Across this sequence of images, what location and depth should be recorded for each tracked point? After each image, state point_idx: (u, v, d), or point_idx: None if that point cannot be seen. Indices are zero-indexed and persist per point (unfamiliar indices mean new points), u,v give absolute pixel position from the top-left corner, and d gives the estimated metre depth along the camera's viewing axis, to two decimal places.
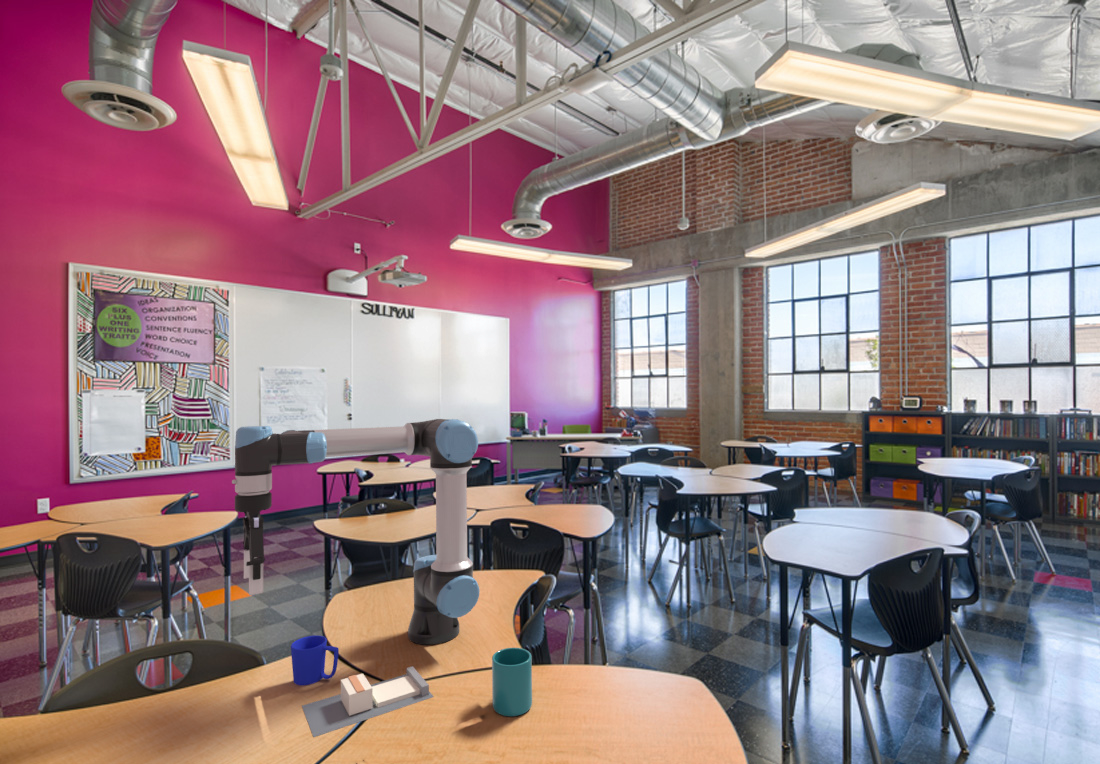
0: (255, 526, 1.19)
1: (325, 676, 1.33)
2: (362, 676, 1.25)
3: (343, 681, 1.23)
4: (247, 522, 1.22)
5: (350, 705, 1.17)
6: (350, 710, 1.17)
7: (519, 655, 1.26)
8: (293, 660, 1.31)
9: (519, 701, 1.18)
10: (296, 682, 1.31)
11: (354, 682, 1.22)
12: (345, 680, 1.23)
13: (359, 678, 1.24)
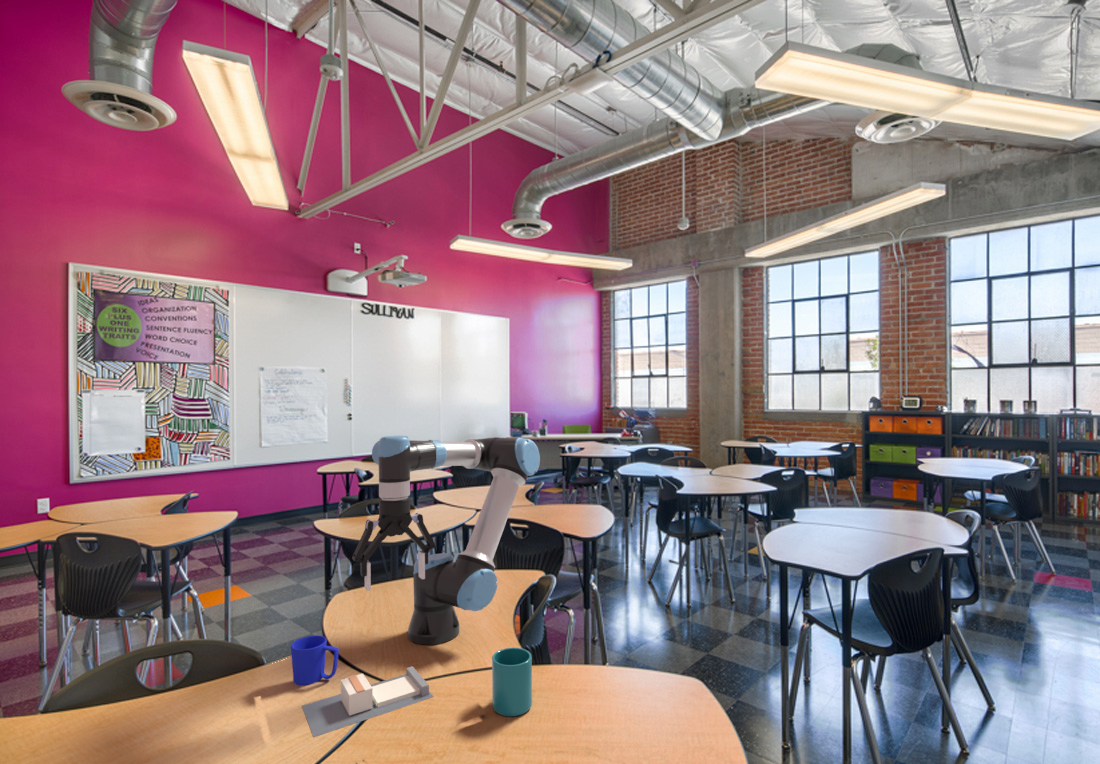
0: (366, 527, 1.31)
1: (325, 676, 1.33)
2: (362, 676, 1.25)
3: (343, 681, 1.23)
4: None
5: (350, 705, 1.17)
6: (350, 710, 1.17)
7: (519, 655, 1.26)
8: (293, 660, 1.31)
9: (519, 701, 1.18)
10: (296, 682, 1.31)
11: (354, 682, 1.22)
12: (345, 680, 1.23)
13: (359, 678, 1.24)
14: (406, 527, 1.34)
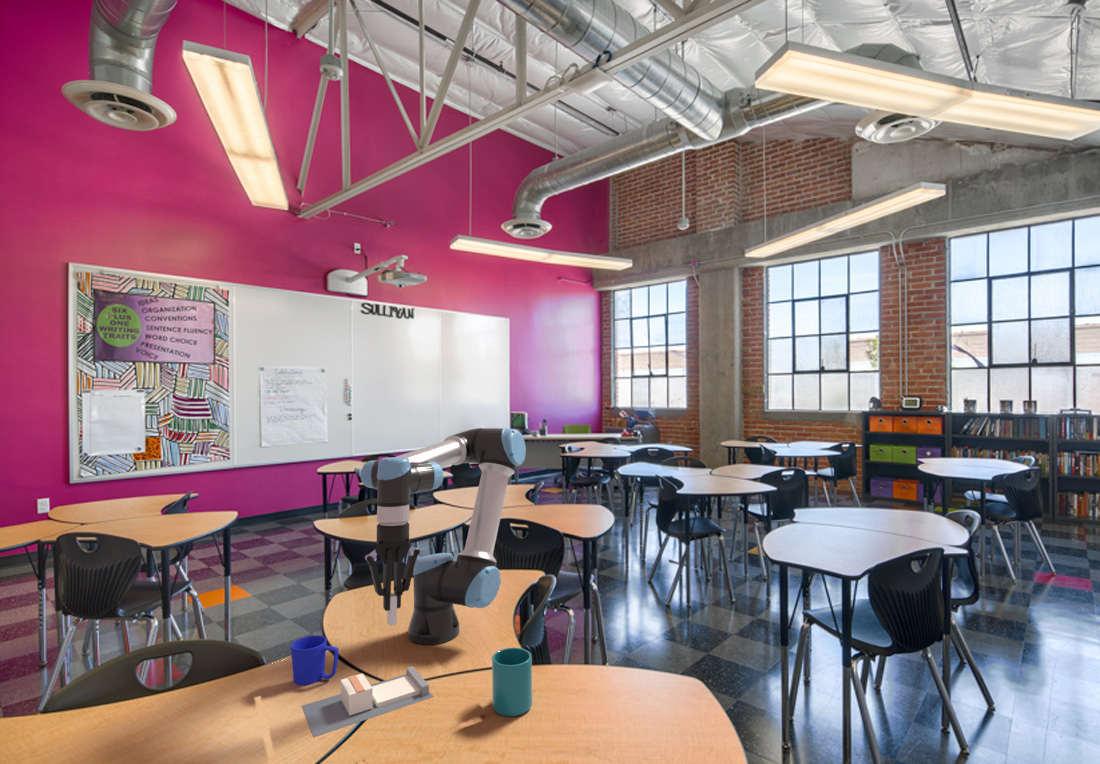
0: (369, 563, 1.25)
1: (325, 676, 1.33)
2: (362, 676, 1.25)
3: (343, 681, 1.23)
4: None
5: (350, 705, 1.17)
6: (350, 710, 1.17)
7: (519, 655, 1.26)
8: (293, 660, 1.31)
9: (519, 701, 1.18)
10: (296, 682, 1.31)
11: (354, 682, 1.22)
12: (345, 680, 1.23)
13: (359, 678, 1.24)
14: (401, 556, 1.28)
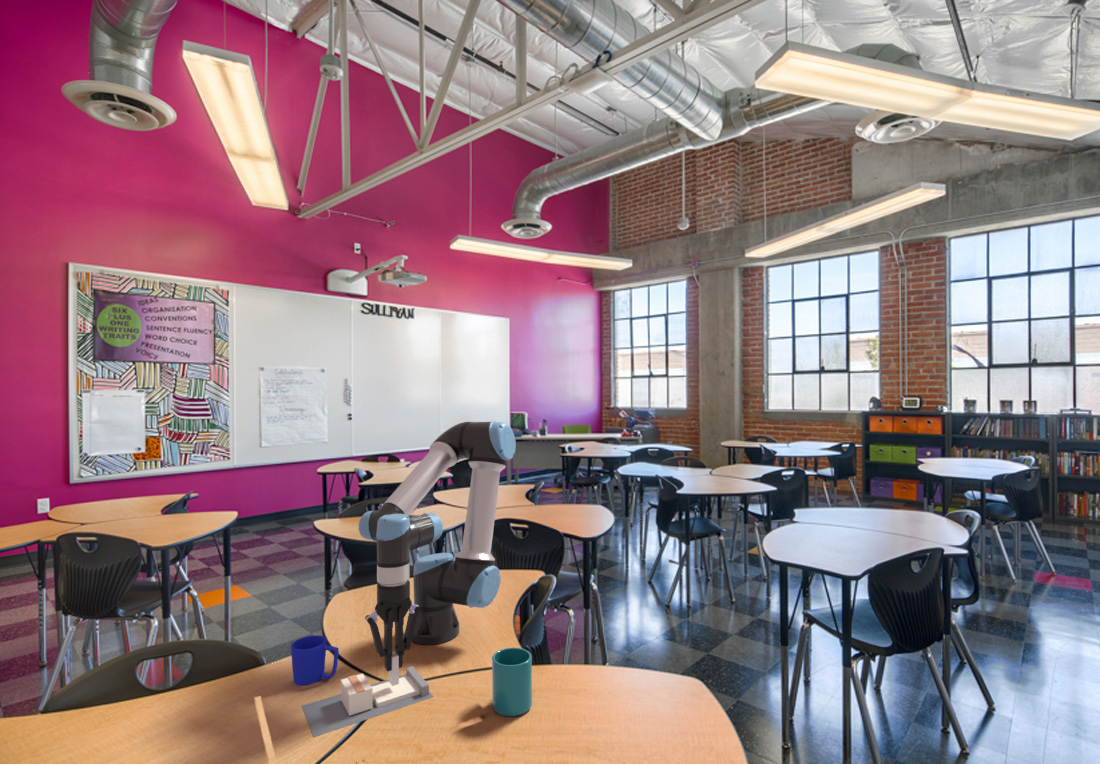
0: None
1: (325, 676, 1.33)
2: (362, 676, 1.25)
3: (343, 681, 1.23)
4: None
5: (350, 705, 1.17)
6: (350, 710, 1.17)
7: (519, 655, 1.26)
8: (293, 660, 1.31)
9: (519, 701, 1.18)
10: (296, 682, 1.31)
11: (354, 682, 1.22)
12: (345, 680, 1.23)
13: (359, 678, 1.24)
14: (402, 616, 1.26)
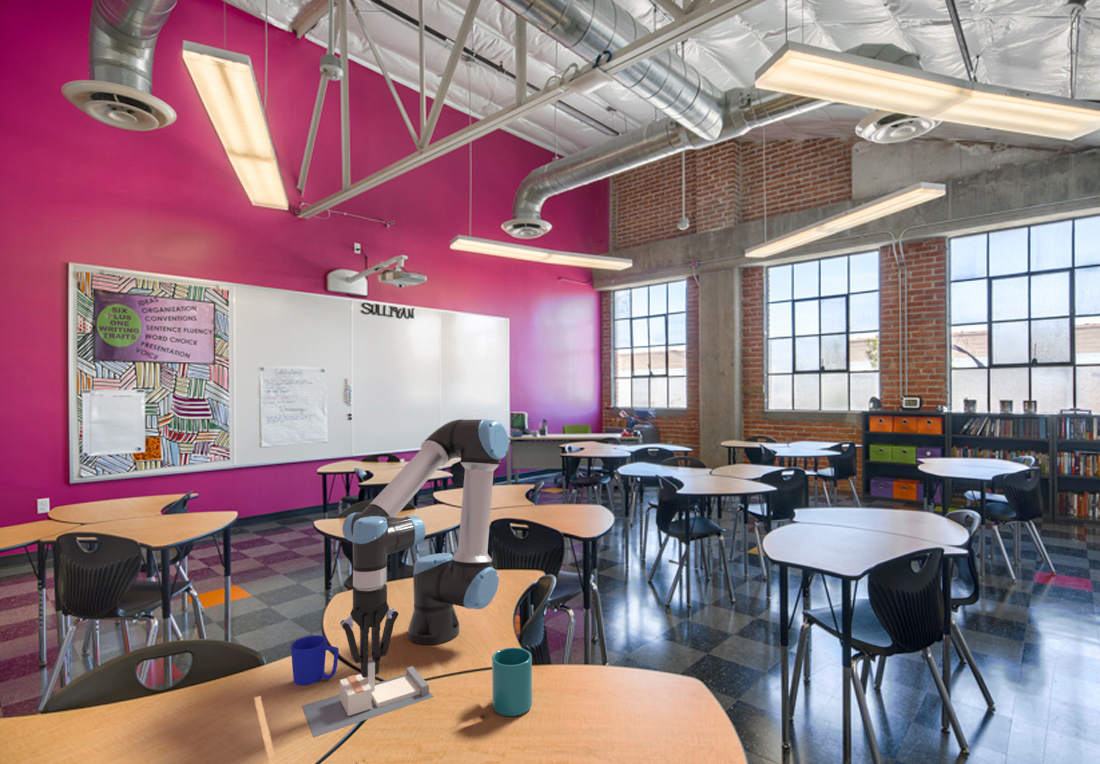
0: None
1: (325, 676, 1.33)
2: (361, 676, 1.25)
3: (342, 681, 1.23)
4: None
5: (349, 705, 1.17)
6: (349, 710, 1.17)
7: (519, 655, 1.26)
8: (293, 660, 1.31)
9: (519, 701, 1.18)
10: (296, 682, 1.31)
11: (353, 682, 1.22)
12: (344, 680, 1.23)
13: (358, 678, 1.24)
14: (378, 621, 1.23)
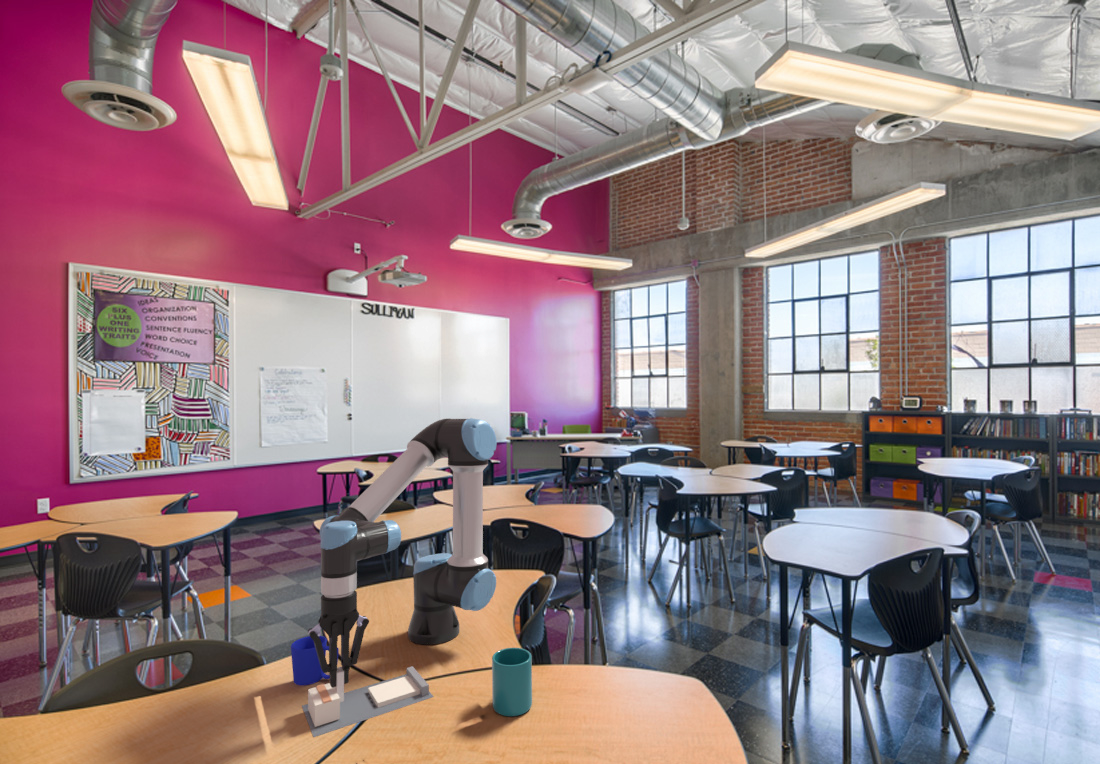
0: None
1: (325, 676, 1.33)
2: (330, 685, 1.21)
3: (310, 691, 1.19)
4: None
5: (316, 716, 1.13)
6: (316, 721, 1.13)
7: (519, 655, 1.26)
8: (293, 660, 1.31)
9: (519, 701, 1.18)
10: (296, 682, 1.31)
11: (321, 692, 1.18)
12: (312, 689, 1.19)
13: (327, 687, 1.20)
14: (347, 629, 1.20)
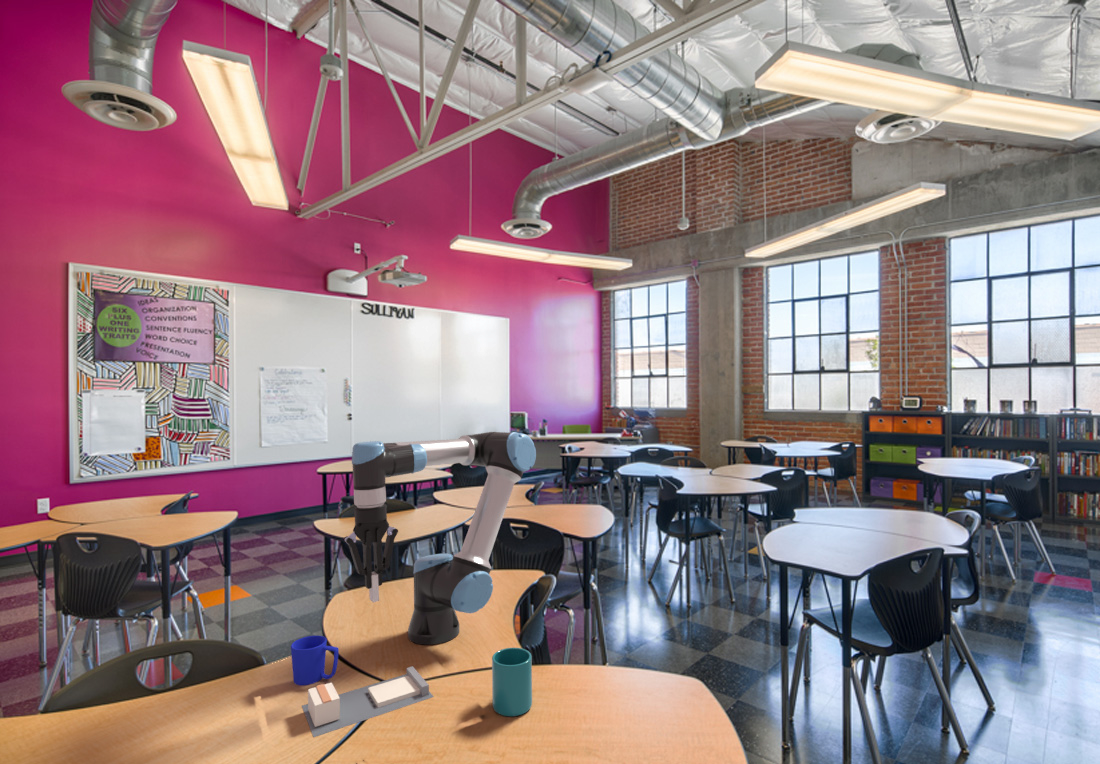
0: (348, 544, 1.29)
1: (325, 676, 1.33)
2: (330, 685, 1.21)
3: (310, 691, 1.19)
4: None
5: (316, 716, 1.13)
6: (316, 721, 1.13)
7: (519, 655, 1.26)
8: (293, 660, 1.31)
9: (519, 701, 1.18)
10: (296, 682, 1.31)
11: (321, 692, 1.18)
12: (312, 689, 1.19)
13: (327, 687, 1.20)
14: (379, 536, 1.32)
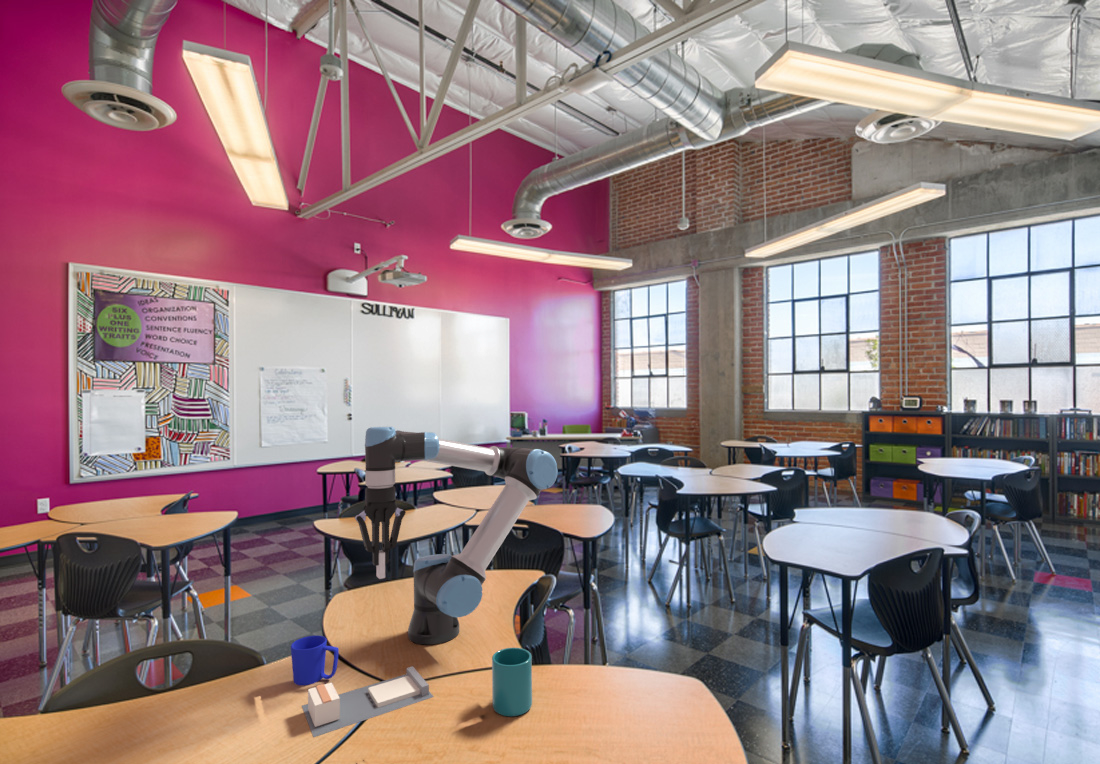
0: (358, 522, 1.37)
1: (325, 676, 1.33)
2: (330, 685, 1.21)
3: (310, 691, 1.19)
4: None
5: (316, 716, 1.13)
6: (316, 721, 1.13)
7: (519, 655, 1.26)
8: (293, 660, 1.31)
9: (519, 701, 1.18)
10: (296, 682, 1.31)
11: (321, 692, 1.18)
12: (312, 689, 1.19)
13: (327, 687, 1.20)
14: (388, 516, 1.39)
